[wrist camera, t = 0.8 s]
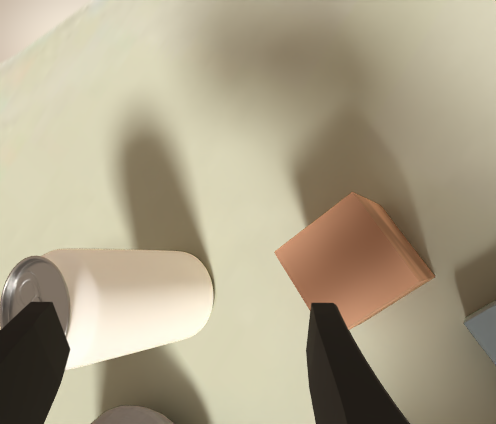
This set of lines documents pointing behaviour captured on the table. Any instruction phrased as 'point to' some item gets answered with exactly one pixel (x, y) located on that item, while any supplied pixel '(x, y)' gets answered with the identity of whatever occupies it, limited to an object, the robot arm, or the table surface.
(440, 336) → the table surface
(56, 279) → the can
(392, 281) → the block
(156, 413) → the coffee pot
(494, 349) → the base
